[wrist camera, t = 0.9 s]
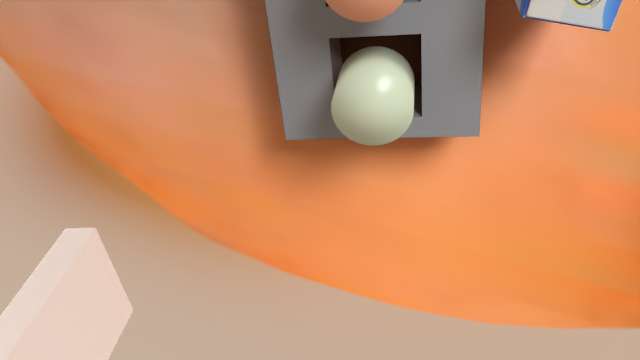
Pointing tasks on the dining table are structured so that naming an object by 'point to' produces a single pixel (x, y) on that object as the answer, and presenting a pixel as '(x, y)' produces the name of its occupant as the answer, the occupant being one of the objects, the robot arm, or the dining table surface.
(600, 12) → the medicine box
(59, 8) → the dining table surface
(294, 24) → the grey slotted tray
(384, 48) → the pale green egg
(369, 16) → the peach egg
